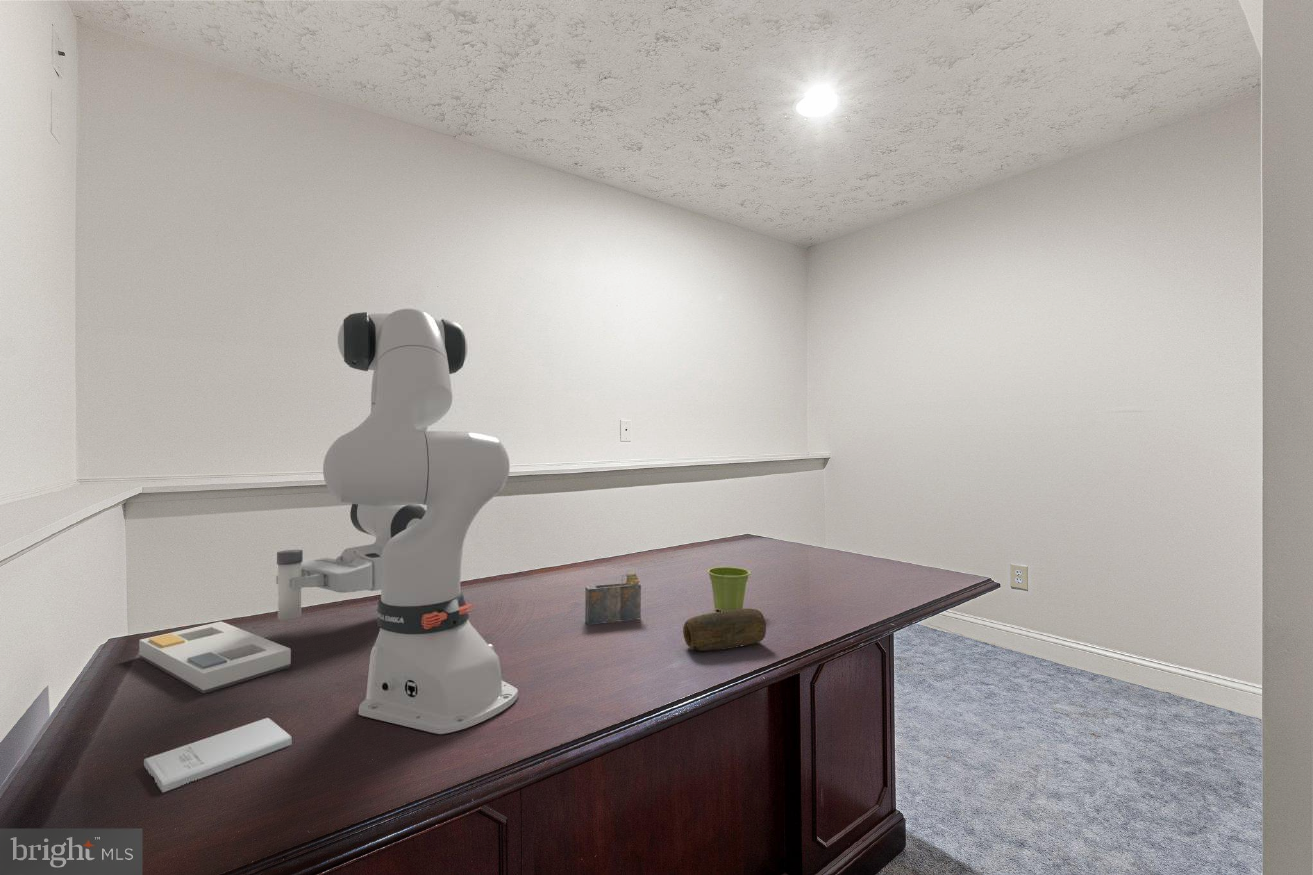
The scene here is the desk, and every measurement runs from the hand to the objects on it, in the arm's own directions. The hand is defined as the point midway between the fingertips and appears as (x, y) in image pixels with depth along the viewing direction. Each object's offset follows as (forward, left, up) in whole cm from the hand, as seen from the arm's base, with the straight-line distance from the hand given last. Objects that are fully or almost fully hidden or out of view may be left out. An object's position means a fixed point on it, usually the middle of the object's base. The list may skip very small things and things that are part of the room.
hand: (284, 582), depth 105 cm
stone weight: (-68, -43, -12) cm, 81 cm away
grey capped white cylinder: (0, -1, -7) cm, 7 cm away
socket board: (+1, +10, -12) cm, 16 cm away
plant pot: (-59, -65, -12) cm, 88 cm away
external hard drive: (-33, +22, -12) cm, 41 cm away
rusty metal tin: (-41, -45, -12) cm, 62 cm away
